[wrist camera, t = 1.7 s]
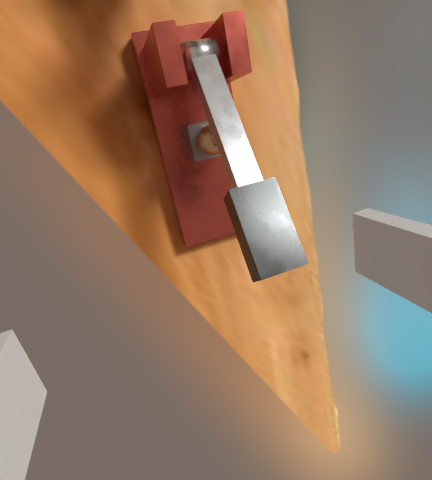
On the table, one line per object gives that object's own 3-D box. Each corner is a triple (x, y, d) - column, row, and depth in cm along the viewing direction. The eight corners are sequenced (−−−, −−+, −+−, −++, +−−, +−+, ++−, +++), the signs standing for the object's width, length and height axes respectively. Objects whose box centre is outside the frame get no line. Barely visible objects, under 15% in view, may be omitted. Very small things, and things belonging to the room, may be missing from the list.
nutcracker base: (130, 38, 34) (137, 2, 25) (214, 26, 37) (248, -11, 28) (183, 243, 44) (202, 270, 34) (248, 223, 46) (282, 244, 37)
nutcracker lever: (173, 57, 31) (174, 36, 28) (214, 50, 32) (218, 30, 29) (252, 282, 27) (261, 280, 25) (296, 266, 28) (308, 263, 26)
